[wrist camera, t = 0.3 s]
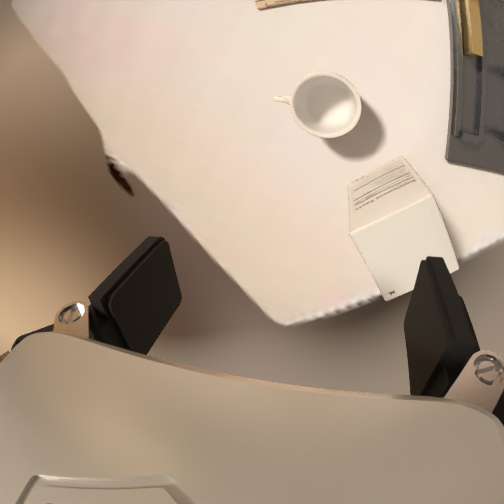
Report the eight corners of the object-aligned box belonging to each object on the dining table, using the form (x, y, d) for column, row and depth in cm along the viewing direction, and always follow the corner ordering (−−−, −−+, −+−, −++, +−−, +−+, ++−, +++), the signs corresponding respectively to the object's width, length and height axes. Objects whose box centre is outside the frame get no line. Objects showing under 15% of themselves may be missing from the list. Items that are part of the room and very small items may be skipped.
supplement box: (429, 210, 37) (462, 272, 25) (375, 236, 42) (384, 305, 29) (403, 152, 34) (435, 193, 22) (345, 182, 39) (346, 235, 27)
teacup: (361, 78, 31) (364, 77, 27) (354, 136, 35) (357, 144, 31) (280, 68, 33) (272, 66, 29) (277, 125, 37) (268, 131, 33)
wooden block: (457, -14, 19) (471, -23, 15) (468, -10, 18) (482, -19, 14) (464, 54, 24) (479, 52, 20) (474, 57, 23) (490, 55, 20)
